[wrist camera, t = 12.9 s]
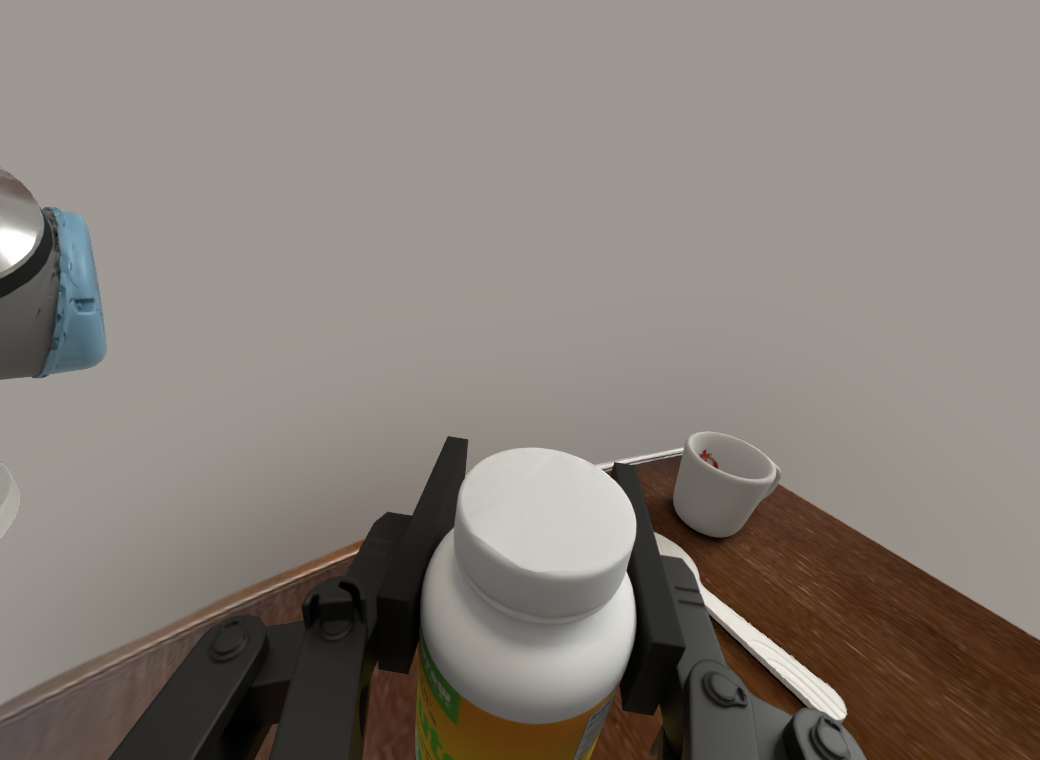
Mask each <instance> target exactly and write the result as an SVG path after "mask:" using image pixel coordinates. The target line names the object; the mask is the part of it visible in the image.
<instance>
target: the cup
mask: <svg viewBox="0 0 1040 760" xmlns="http://www.w3.org/2000/svg"><path fill="white" fill-rule="evenodd" d="M780 478H781V471H780V468H779V467H778V466H777V465H776V464H775V463H773V462H772V461H771V460H770V459H769V458H768V457H767V456H766V455H765V454H764V453H763V452H761V451H759V450H758V449H757V448H755V447H754V446H752V445H750V444H748V443H747V442H744V441H742V440H740V439H737V438H735V437H732V436H729V435H725V434H721V433H716V432H698V433H695V434H693V435H691V436H689V438H688V439H687V440H686V443H685V447H684V451H683V455H682V460H681V464H680V468H679V473H678V477H677V481H676V485H675V490H674V496H673V503H674V508H675V510H676V512H677V514H678V516H679V517H680V518H681V519H682V520H683V521H684V522H685V523H686V524H687V525H688V526H689V527H691V528H692V529H694V530H696V531H698V532H700V533H702V534H705V535H708V536H711V537H720V538H723V537H729V536H731V535H733V534H735V533H737V532H738V531H739V530H740V529H741V528H742V526H743V525H744V524H745V522H746V521H747V519H748V518H749V516H750V515H751V514H752V512H753V511H754V509H755V508H756V506H757V505H758V503H759V502H760V500H762V499H764V498H766V497H767V496H769V495H770V494H771V493H772V492H773V490H774V489H775V488H776V486H777V485H778V483H779V481H780Z"/></svg>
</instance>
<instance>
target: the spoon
mask: <svg viewBox="0 0 1040 760" xmlns="http://www.w3.org/2000/svg"><path fill="white" fill-rule="evenodd" d="M654 534H655V538H656V542H657V545H658V549H659V552H660V555H666V556H672V557H678V558H682V559H683V560H684V561H685V563H686V564H687V565H688V566H689V568H690V569H691V570H692V572H693V573H694V575H695V578H696V581H697V583H698V586H699V589H700V594H701V595H702V597H703V600H704V603H705V608H706V609H707V611H708V613H709V614H710V615H711V616H712V617H713V618H714V619H715V620H716V621H717V622H718V623H719V624H721V625H722V626H723V627H724V628H725V629H726V630H727V631H728V632H729V633H730V634H731V635H732V636H733V637H734V638H735V639H736V640H737V641H739V642H740V643H741V644H742V645H743V646H744V647H745V648H746V649H747V650H748V651H749V652H750V653H751V654H752V655H753V656H754V657H755V658H757V659H758V660H759V661H760V662H761V663H762V664H763V665H764V666H765V667H766V668H767V669H768V670H769V671H770V672H771V673H772V674H773V675H774V676H776V677H777V678H778V679H779V680H780V681H781V682H782V683H783V684H784V685H785V686H786V687H787V688H788V689H790V690H791V691H792V692H793V693H794V694H795V695H796V696H797V697H798V698H799V699H800V700H801V701H802V702H803V703H804V704H805V705H806V706H807V707H808V708H814V709H817V710H820V711H822V712H825V713H826V714H828V715H829V716H831V717H832V718H834V719H835V720H836V721H838V722H839V723H840V724H841V723H842V722H843V721H844V719H845V716H846V715H847V712H846V711H847V709H846V707H845V704H844V701H843V700H842V699H841V696H839V695H838V694H837V692H835V690H833V689H832V688H831V687H830V686H829V685H828V684H827V683H826V684H825V683H824V682H823V681H822V680H821V679H820V678H817V677H816V676H815V675H814V674H812V673H811V672H810V671H809V670H808V669H807V668H806V667H804V666H802V665H801V664H800V663H799V662H798V661H797V660H794V659H795V658H794V657H793V656H792V655H791V656H789V655H788V654H787V653H786V652H785V651H784V650H783V649H782V648H781V649H780V648H779V647H778V646H777V645H776V644H774V643H773V642H772V641H771V639H769V638H767V637H766V636H765V635H764V634H763V633H762V634H761V633H760V632H759V631H758V630H757V629H755V628H754V627H753V626H752V625H751V624H750V623H749V624H748V623H747V622H746V621H745V620H744V618H741V617H740V616H739V615H738V614H736V613H735V612H734V611H733V610H732V608H731V609H730V608H729V607H728V606H727V605H726V604H723V603H722V602H721V601H720V600H719V599H717V597H716V596H715V595H714V594H713V595H712V594H711V593H710V592H709V591H708V590H706V589H705V588H704V586H702V584H701V582H700V580H699V579H700V578H699V577H700V575H699V573H698V570H697V568H696V565H695V564H694V562H693V560H691V558H690V556H688V554H687V553H685V552H684V551H683V550H682V548H680V547H679V546H678V545H677V544H675V543H674V542H671V540H668V539H666V538H665V537H663V535H659V534H657V532H656V533H655V532H654Z"/></svg>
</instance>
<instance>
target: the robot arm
mask: <svg viewBox="0 0 1040 760" xmlns="http://www.w3.org/2000/svg"><path fill="white" fill-rule="evenodd" d="M105 354H106V334H105V326H104V318H103V312H102V304H101V298H100V291H99V285H98V279H97V273H96V267H95V262H94V256H93V251H92V246H91V241H90V236H89V231H88V227H87V224H86V222H85V220H84V219H83V218H82V217H80V216H79V215H77V214H75V213H72V212H66V211H61V210H59V209H58V208H55V207H54V208H52V207H45V208H43V209H42V210H41V208H40V206H39V205H38V203H37V201H36V200H35V198H34V197H33V195H32V194H31V192H30V191H29V190H28V189H27V188H26V187H25V186H24V185H23V184H22V183H21V182H20V181H19V180H17V179H16V178H15V177H14V176H12V175H11V174H10V173H8V172H6V171H5V170H3V169H2V168H0V380H1V379H11V378H22V377H33V378H44V377H46V376H48V375H49V374H54V373H61V372H68V371H75V370H81V369H87V368H91V367H93V366H95V365H97V364H98V363H99V362H101V361H102V359H103V358H104V357H105ZM467 447H468V439H462V438H456V437H449V436H448V437H447V440H446V442H445V444H444V446H443V448H442V451H441V453H440V455H439V457H438V459H437V462H436V464H435V466H434V468H433V471H432V473H431V475H430V477H429V480H428V482H427V484H426V486H425V489H424V491H423V493H422V495H421V498H420V500H419V502H418V504H417V506H416V509H415V511H414V513H413V515H412V516H410V515H404V514H397V513H391V512H387V513H385V514H384V515H383V516H382V517H381V518H379V519H378V520H377V521H376V522H375V523H374V524H373V526H372V528H371V529H370V531H369V533H368V535H367V537H366V540H364V542H363V544H362V546H361V547H360V550H359V552H358V553H357V555H356V556H355V558H354V560H353V562H352V564H351V565H350V567H349V569H348V571H347V573H346V574H345V576H339V577H334V578H330V579H327V580H325V581H323V582H321V583H320V584H318V585H316V586H315V587H314V588H313V589H312V590H311V591H310V592H309V593H308V594H307V595H306V597H305V599H304V601H303V603H302V611H303V618H304V620H302V621H298V622H294V623H288V624H281V625H275V626H268V627H266V626H265V624H264V623H263V622H262V620H261V619H260V618H258V617H255V616H252V615H237V616H234V617H231V618H228V619H226V620H223V621H222V622H220V623H218V624H217V625H215V626H214V627H212V628H211V629H209V630H208V632H207V633H206V634H205V635H204V636H203V637H202V638H201V639H200V640H199V641H198V642H197V644H196V645H195V646H194V647H193V649H192V650H191V651H190V653H189V654H188V655H187V657H186V658H185V659H184V661H183V662H182V663H181V665H180V666H179V667H178V668H177V670H176V671H175V672H174V674H173V675H172V676H171V678H170V679H169V680H168V682H167V683H166V684H165V686H164V687H163V688H162V689H161V691H160V692H159V693H158V695H157V696H156V697H155V699H154V700H153V701H152V703H151V704H150V705H149V707H148V708H147V709H146V710H145V712H144V713H143V714H142V716H141V717H140V718H139V720H138V721H137V722H136V724H135V725H134V726H133V728H132V729H131V730H130V731H129V733H128V734H127V735H126V737H125V738H124V739H123V741H122V742H121V743H120V745H119V746H118V747H117V749H116V750H115V751H114V752H113V754H112V755H111V756H110V758H109V759H108V760H254V759H255V757H256V755H257V753H258V751H259V749H260V747H261V745H262V743H263V741H264V739H265V737H266V735H267V734H268V732H269V730H270V728H271V726H272V724H277V723H279V725H278V728H277V732H276V735H275V739H274V742H273V746H272V750H271V753H270V757H269V760H362V757H363V748H364V740H365V732H366V724H367V715H368V707H369V699H370V690H371V684H370V678H371V676H372V673H373V670H374V668H375V665H376V663H377V660H378V666H379V669H381V670H387V671H392V672H398V673H404V674H408V673H409V670H410V667H411V664H412V660H413V657H414V654H415V651H416V648H417V644H418V641H419V622H420V602H421V593H422V586H423V580H424V576H425V573H426V570H427V567H428V565H429V562H430V560H431V558H432V556H433V554H434V552H435V550H436V549H437V547H438V545H439V544H440V543H441V541H442V540H443V539H444V537H445V536H446V535H447V534H448V533H449V532H450V531H451V530H452V529H453V528H454V524H455V516H456V508H457V500H458V494H459V490H460V487H461V484H462V482H463V480H464V479H465V470H466V458H467ZM610 477H611V478H612V479H613V480H614V481H616V482H617V484H618V485H619V486H620V487H621V488H622V489H623V491H624V492H625V494H626V495H627V497H628V498H629V500H630V502H631V504H632V507H633V510H634V513H635V517H636V537H635V541H634V545H633V548H632V552H631V555H630V558H629V562H628V566H627V570H626V572H627V574H628V576H629V579H630V581H631V584H632V587H633V591H634V596H635V602H636V613H637V627H636V635H635V641H634V645H633V649H632V652H631V656H630V659H629V661H628V665H627V668H626V670H625V672H624V675H623V677H622V680H621V682H620V693H621V701H622V709H623V711H629V712H634V713H640V714H646V715H652V716H653V715H654V713H655V711H656V709H657V707H658V705H659V703H660V708H661V713H662V718H663V725H662V727H661V729H660V730H659V732H658V734H657V736H656V738H655V740H654V742H653V744H652V748H651V752H650V754H651V755H653V756H655V755H656V753H657V751H658V758H657V760H867V759H866V757H865V755H864V753H863V751H862V750H861V748H860V747H859V745H858V744H857V742H856V741H855V739H854V738H853V736H852V735H851V734H850V733H849V732H848V731H847V730H846V729H845V728H844V727H843V726H842V725H841V724H840V723H839V722H838V721H836V720H835V719H834V718H832V717H831V716H829V715H828V714H826V713H825V712H822V711H820V710H817V709H814V708H801V709H800V710H799V711H797V712H796V713H795V714H794V715H791V714H789V713H787V712H785V711H783V710H781V709H779V708H777V707H775V706H773V705H771V704H769V703H767V702H765V701H763V700H761V699H760V698H758V697H756V696H755V695H753V694H752V693H750V692H749V691H748V689H747V688H746V686H745V685H744V683H743V682H742V680H741V679H740V678H739V677H738V676H737V675H736V674H735V673H734V672H733V671H732V670H731V669H730V668H728V666H727V664H726V661H725V659H724V656H723V654H722V651H721V648H720V645H719V642H718V640H717V637H716V634H715V631H714V628H713V625H712V623H711V620H710V617H709V614H708V611H707V609H706V608H705V603H704V600H703V597H702V595H701V594H700V589H699V586H698V583H697V581H696V578H695V575H694V573H693V572H692V570H691V569H690V568H689V566H688V565H687V564H686V563H685V561H684V560H683V559H682V558H678V557H672V556H666V555H660V552H659V549H658V545H657V542H656V538H655V534H654V531H653V527H652V524H651V520H650V517H649V513H648V510H647V506H646V502H645V499H644V495H643V492H642V488H641V485H640V481H639V478H638V474H637V470H636V467H635V465H629V464H622V463H616V462H614V466H613V469H612V473H611V476H610Z"/></svg>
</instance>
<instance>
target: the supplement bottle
mask: <svg viewBox="0 0 1040 760" xmlns="http://www.w3.org/2000/svg"><path fill="white" fill-rule="evenodd" d="M635 537H636V517H635V513H634V510H633V507H632V504H631V502H630V500H629V498H628V497H627V495H626V494H625V492H624V491H623V489H622V488H621V487H620V486H619V485H618V484H617V482H616V481H614V480H613V479H612V478H611V477H610V476H609V475H608V474H606V473H605V472H604V471H602V470H601V469H599V468H598V467H596V466H594V465H593V464H591V463H589V462H587V461H585V460H583V459H580V458H579V457H576V456H573V455H570V454H567V453H564V452H560V451H556V450H550V449H542V448H519V449H512V450H507V451H503V452H499V453H496V454H494V455H492V456H489V457H488V458H486V459H484V460H482V461H481V462H479V463H478V464H477V465H475V466H474V467H473V468H472V469H471V470H470V471H469V473H468V474H467V475H466V477H465V479H464V480H463V482H462V484H461V487H460V490H459V494H458V500H457V508H456V516H455V524H454V528H453V529H452V530H451V531H450V532H449V533H448V534H447V535H446V536H445V537H444V539H443V540H442V541H441V543H440V544H439V545H438V547H437V549H436V550H435V552H434V554H433V556H432V558H431V560H430V562H429V565H428V567H427V570H426V573H425V576H424V580H423V586H422V593H421V602H420V622H419V655H418V672H417V677H418V679H417V703H416V724H415V746H416V758H417V760H589V758H590V756H591V754H592V751H593V749H594V746H595V744H596V741H597V738H598V736H599V733H600V731H601V729H602V726H603V724H604V721H605V719H606V716H607V713H608V711H609V709H610V706H611V703H612V701H613V698H614V696H615V694H616V691H617V689H618V687H619V685H620V682H621V680H622V677H623V675H624V672H625V670H626V668H627V665H628V661H629V659H630V656H631V652H632V649H633V645H634V641H635V635H636V627H637V613H636V602H635V596H634V591H633V587H632V584H631V581H630V579H629V576H628V574H627V572H626V570H627V566H628V562H629V558H630V555H631V552H632V548H633V545H634V541H635Z"/></svg>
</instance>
